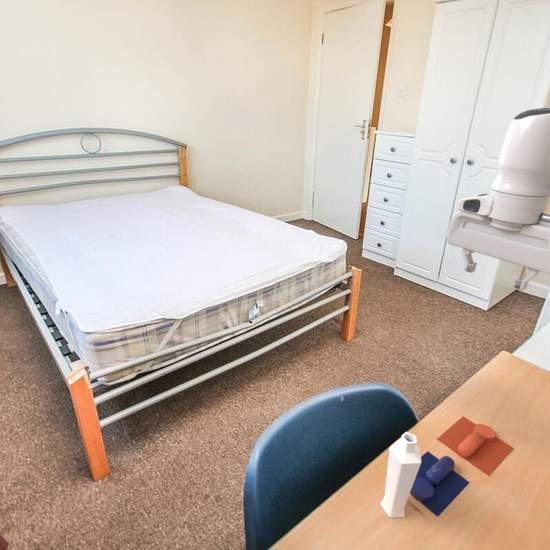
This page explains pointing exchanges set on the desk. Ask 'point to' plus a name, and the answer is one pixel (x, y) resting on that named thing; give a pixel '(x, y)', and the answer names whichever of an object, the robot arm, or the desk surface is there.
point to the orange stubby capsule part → (476, 440)
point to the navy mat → (441, 485)
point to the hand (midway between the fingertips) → (493, 279)
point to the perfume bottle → (401, 474)
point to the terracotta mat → (485, 455)
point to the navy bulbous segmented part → (432, 479)
